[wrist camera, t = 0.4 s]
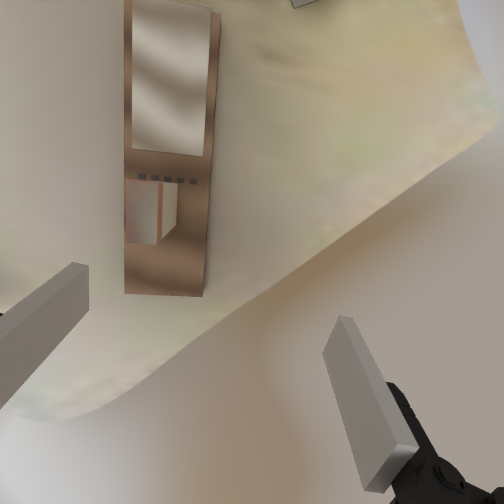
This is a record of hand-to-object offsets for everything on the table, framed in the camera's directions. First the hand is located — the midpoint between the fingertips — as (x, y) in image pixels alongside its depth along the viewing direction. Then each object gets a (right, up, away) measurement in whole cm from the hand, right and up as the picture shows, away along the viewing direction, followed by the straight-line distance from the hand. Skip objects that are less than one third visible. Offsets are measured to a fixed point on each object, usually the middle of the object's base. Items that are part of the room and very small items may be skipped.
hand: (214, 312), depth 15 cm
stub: (-8, +9, +19) cm, 23 cm away
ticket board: (-8, +14, +21) cm, 27 cm away
